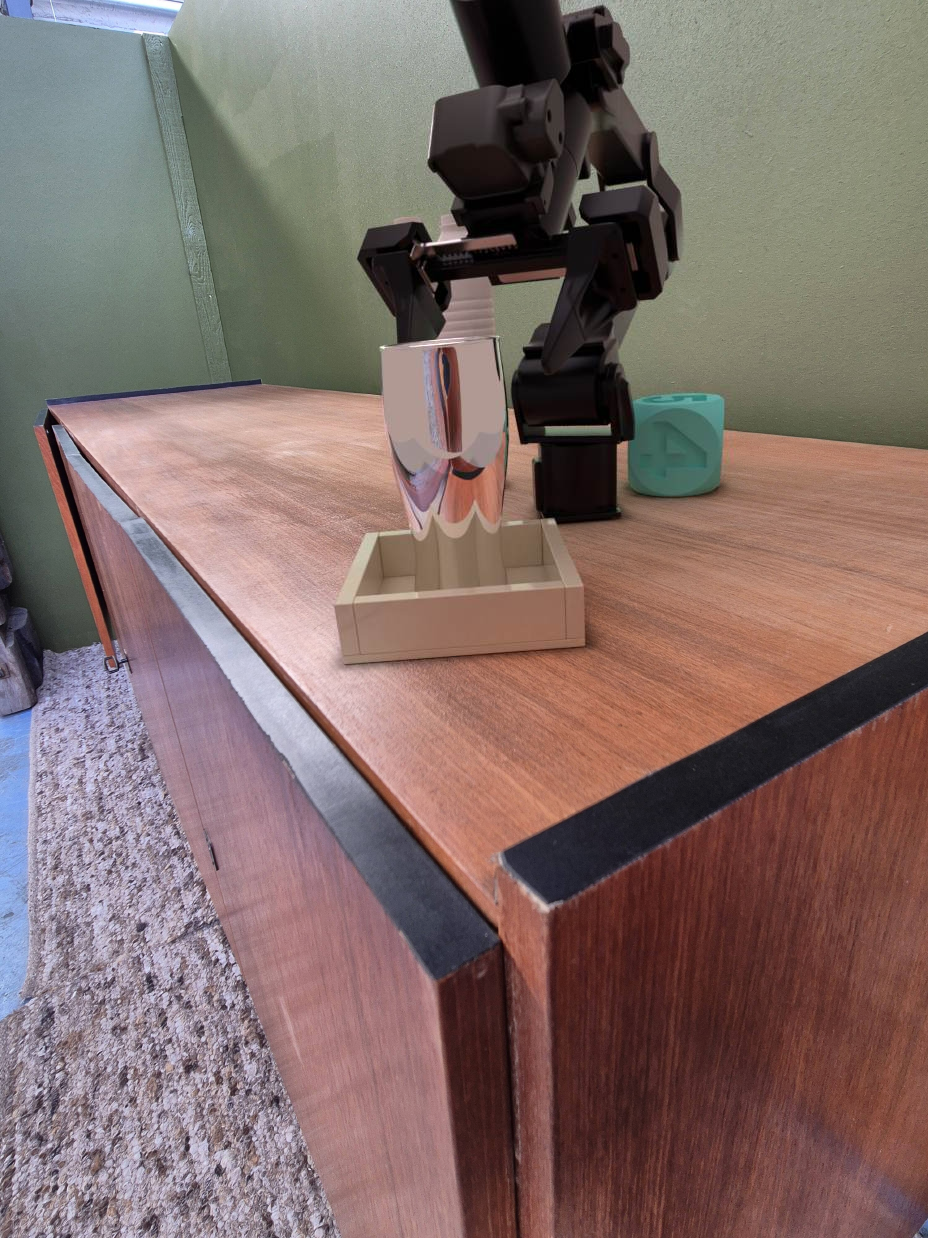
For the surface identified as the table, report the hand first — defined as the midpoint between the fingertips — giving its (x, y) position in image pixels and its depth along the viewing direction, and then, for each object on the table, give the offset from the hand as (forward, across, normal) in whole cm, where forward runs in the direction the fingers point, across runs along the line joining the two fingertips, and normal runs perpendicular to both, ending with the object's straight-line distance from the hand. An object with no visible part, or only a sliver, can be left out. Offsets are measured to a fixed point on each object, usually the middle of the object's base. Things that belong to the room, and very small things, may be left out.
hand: (471, 373), depth 42 cm
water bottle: (-8, -15, +28) cm, 33 cm away
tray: (+12, 0, +7) cm, 14 cm away
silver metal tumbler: (+12, 0, +7) cm, 14 cm away
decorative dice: (-11, +6, +30) cm, 32 cm away
